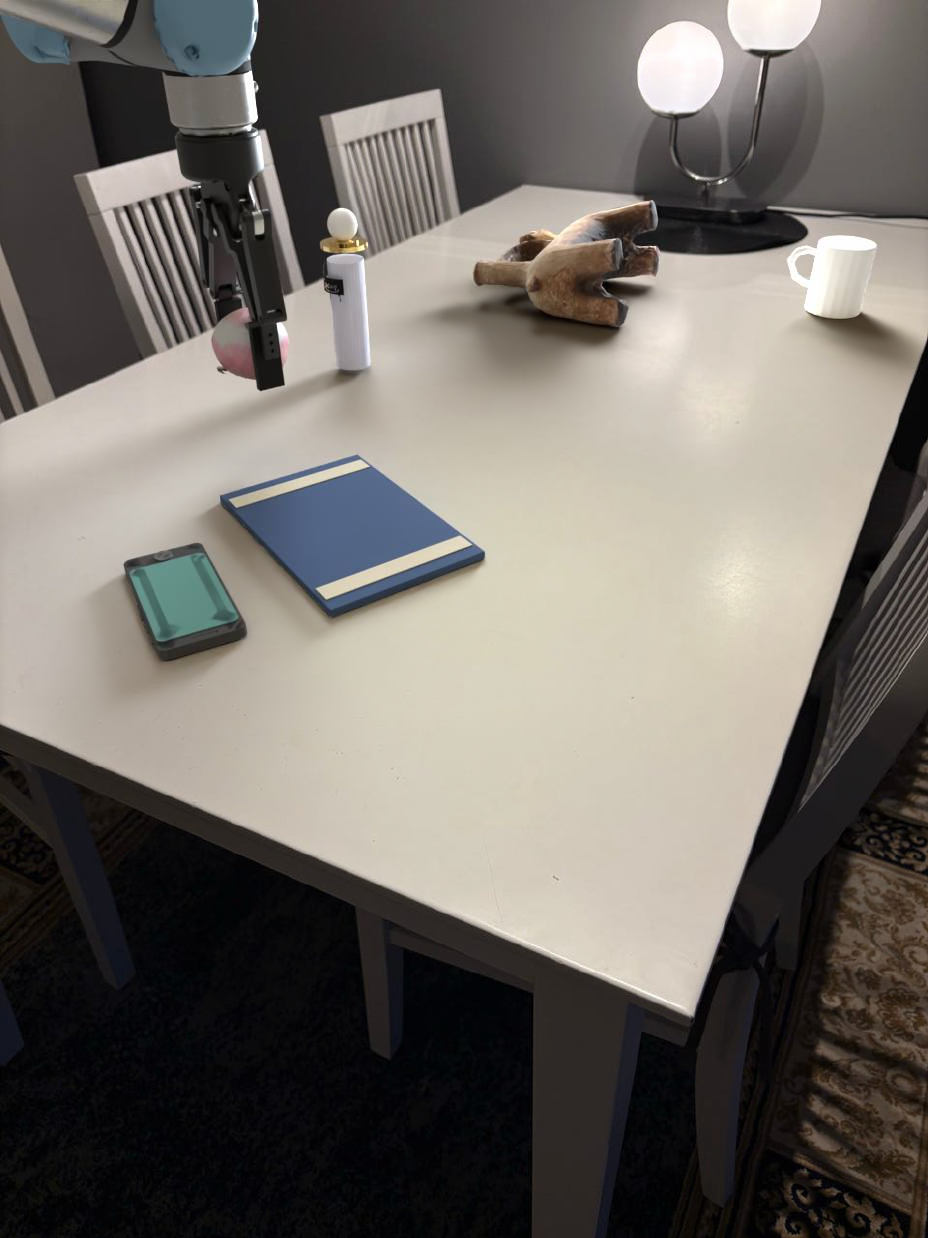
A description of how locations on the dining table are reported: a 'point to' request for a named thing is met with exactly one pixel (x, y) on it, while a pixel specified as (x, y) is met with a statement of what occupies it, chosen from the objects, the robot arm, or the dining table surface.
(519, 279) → the ceramic vessel
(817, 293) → the mug
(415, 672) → the dining table surface
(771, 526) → the dining table surface
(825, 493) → the dining table surface
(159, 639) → the smartphone
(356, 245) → the perfume bottle
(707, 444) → the dining table surface
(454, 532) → the towel
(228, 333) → the onion
